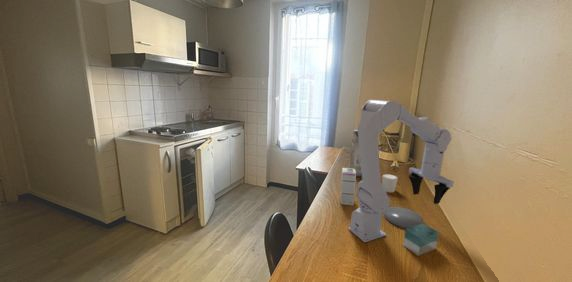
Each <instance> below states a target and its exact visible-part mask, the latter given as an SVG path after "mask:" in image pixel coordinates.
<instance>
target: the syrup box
mask: <svg viewBox="0 0 572 282" xmlns="http://www.w3.org/2000/svg"><path fill="white" fill-rule="evenodd" d="M356 184H357V176H356V171H355V169H353V168H350V167H342V168H341V177H340V194H339V201H340V205H346V206H355V197H356Z"/></svg>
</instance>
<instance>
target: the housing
mask: <svg viewBox="0 0 572 282" xmlns="http://www.w3.org/2000/svg"><path fill="white" fill-rule="evenodd" d="M438 238H439V231H438V230H436V229H434V228H432V227H430V226H428V225H427V224H426V223H424V222H423V223H422V224H419V225H416V226H413V227H410V228H407V229H405V230H404V238H403V247H404V248H406V249H408V250H409V251H411V252H412V253H414V254H415V255H416V256H422V255H423V254H426V253H429V252H431V251H434V250H435V249H436V248H437V242H438Z"/></svg>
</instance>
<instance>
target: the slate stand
mask: <svg viewBox="0 0 572 282" xmlns="http://www.w3.org/2000/svg"><path fill="white" fill-rule="evenodd" d="M383 217H384V218H385V219H386V220H387V222H389V224H392V225H394V226H396V227H398V228H402V229H405V230H406V229H407V228H410V227H413V226H416V225H419V224H422V223H423V224H424V221H425V220H424V218H423V216H422V215H421V214H419V213H418V212H416V211H414V210H412V209H410V208H406V207H402V206H389V207H388V209H387V210H386V211H385V212H384V213H383Z"/></svg>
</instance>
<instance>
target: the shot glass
mask: <svg viewBox="0 0 572 282" xmlns="http://www.w3.org/2000/svg"><path fill="white" fill-rule="evenodd" d="M381 179H382V180H381V183H382V184H383V186H384V187H385V189H386V192H387V193H395V191H396V187H397V184H398V176H396V175H393V174H390V173H389V174H388V173H385V174H384V173H383V174H382V177H381Z"/></svg>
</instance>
